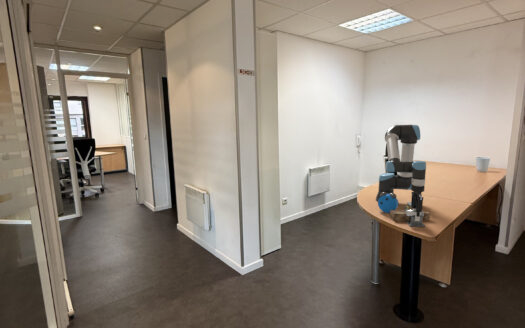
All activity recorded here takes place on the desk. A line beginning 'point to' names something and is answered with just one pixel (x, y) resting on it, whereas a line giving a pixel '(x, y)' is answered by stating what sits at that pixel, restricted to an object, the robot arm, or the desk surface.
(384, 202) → the alarm clock
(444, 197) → the desk surface
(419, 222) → the grey slotted plate stand
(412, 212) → the axle
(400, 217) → the beam
